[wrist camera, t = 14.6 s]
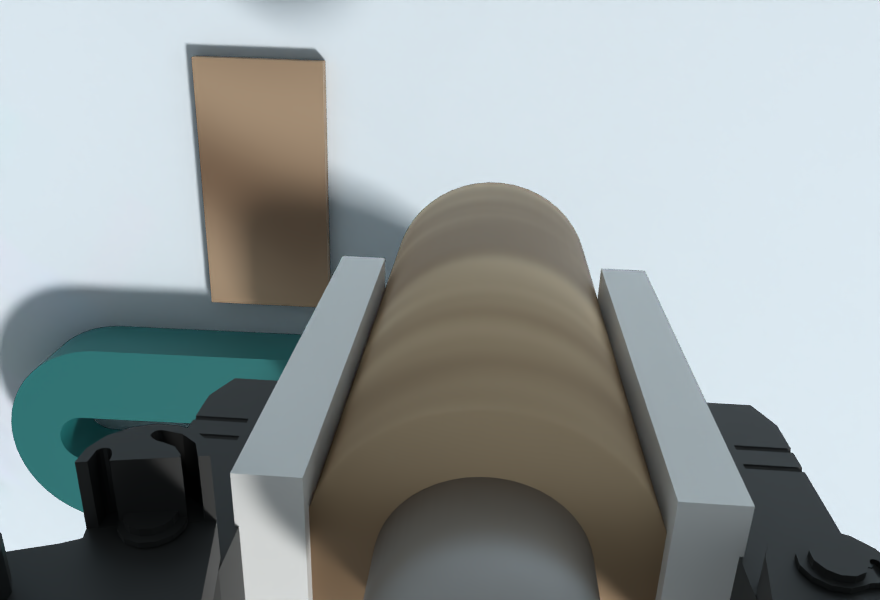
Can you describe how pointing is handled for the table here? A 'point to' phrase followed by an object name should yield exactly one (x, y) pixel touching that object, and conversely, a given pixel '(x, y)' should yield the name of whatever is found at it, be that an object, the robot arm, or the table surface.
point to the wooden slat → (264, 178)
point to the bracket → (128, 389)
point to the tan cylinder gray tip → (487, 425)
